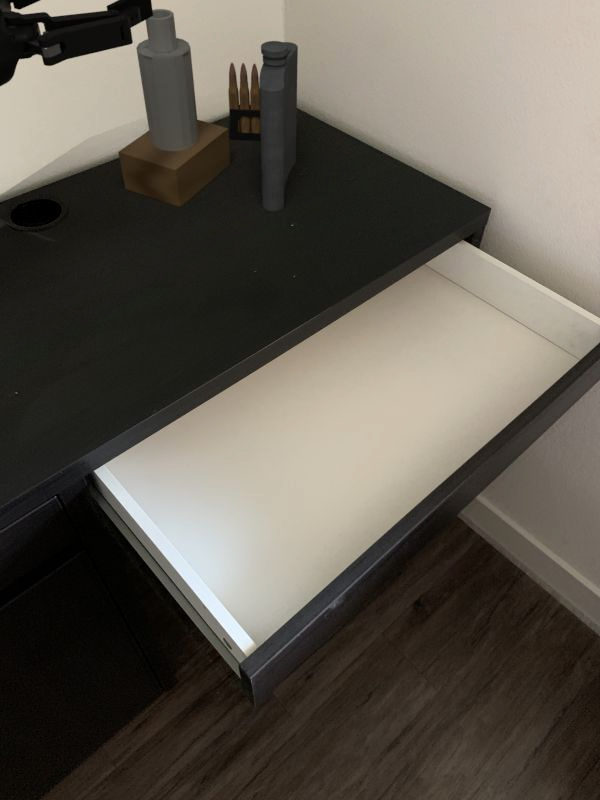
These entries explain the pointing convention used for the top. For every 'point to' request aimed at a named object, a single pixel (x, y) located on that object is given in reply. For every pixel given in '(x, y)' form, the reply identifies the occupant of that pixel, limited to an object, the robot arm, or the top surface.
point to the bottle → (168, 84)
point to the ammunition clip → (244, 105)
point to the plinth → (175, 165)
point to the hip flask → (277, 119)
